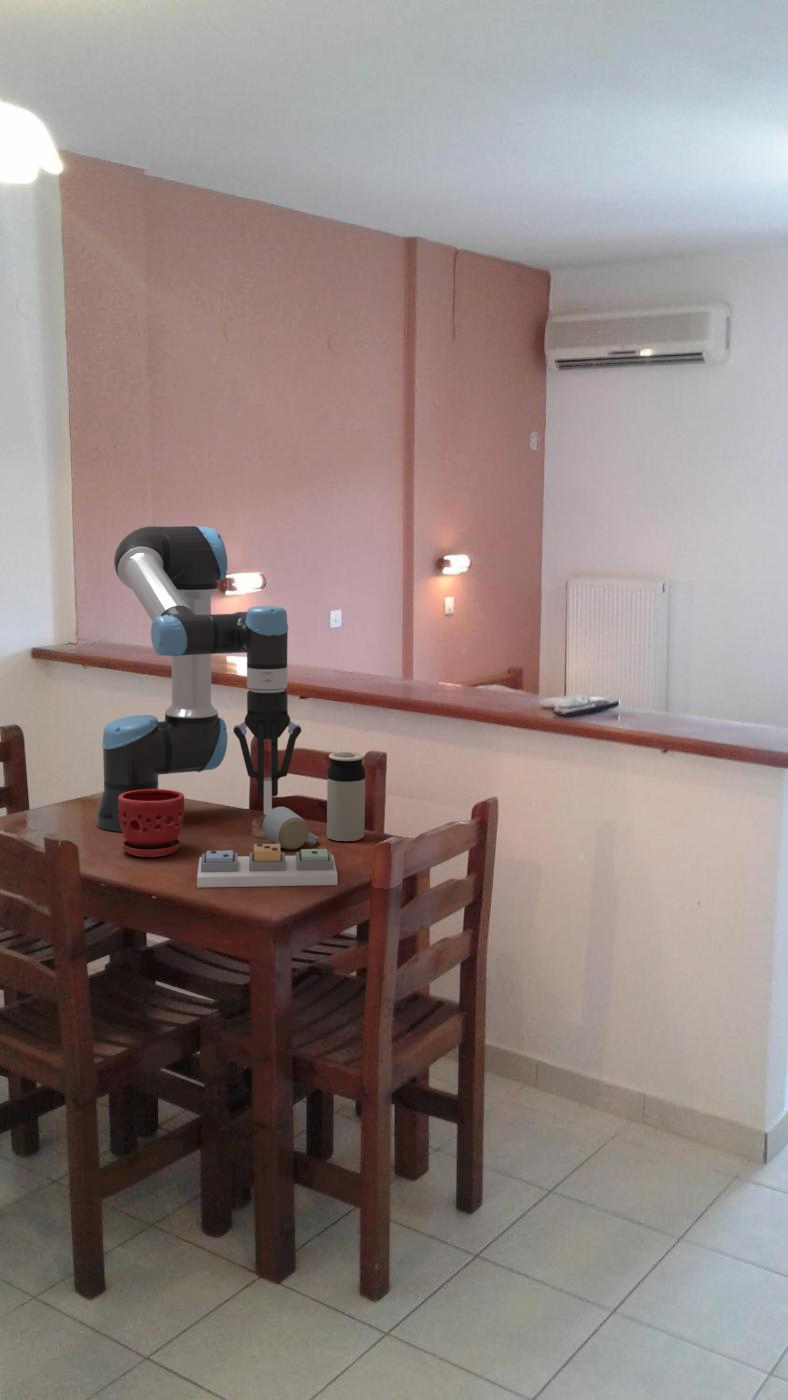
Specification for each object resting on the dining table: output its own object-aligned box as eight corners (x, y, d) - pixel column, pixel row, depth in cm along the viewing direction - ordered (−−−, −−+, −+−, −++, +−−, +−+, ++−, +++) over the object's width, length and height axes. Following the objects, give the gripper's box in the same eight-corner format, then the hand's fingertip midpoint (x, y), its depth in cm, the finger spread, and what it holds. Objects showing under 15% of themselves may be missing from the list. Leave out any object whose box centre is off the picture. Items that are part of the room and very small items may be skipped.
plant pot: (193, 856, 254) (192, 798, 252) (128, 863, 248) (127, 804, 246) (174, 839, 266) (173, 784, 264) (112, 846, 260) (110, 789, 258)
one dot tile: (300, 859, 245) (300, 848, 244) (326, 858, 245) (326, 847, 245) (301, 866, 240) (301, 855, 240) (328, 866, 240) (328, 855, 240)
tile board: (199, 866, 247) (199, 849, 246) (332, 864, 250) (333, 847, 249) (197, 887, 234) (196, 868, 234) (337, 884, 237) (337, 866, 237)
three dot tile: (253, 854, 244) (253, 843, 243) (280, 853, 244) (280, 842, 244) (254, 861, 239) (254, 850, 238) (280, 861, 239) (280, 849, 239)
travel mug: (329, 843, 265) (329, 759, 262) (324, 833, 273) (325, 751, 270) (366, 842, 266) (368, 758, 263) (361, 832, 274) (362, 750, 271)
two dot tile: (206, 860, 243) (206, 849, 242) (233, 860, 243) (232, 849, 243) (205, 868, 238) (205, 857, 237) (232, 868, 238) (232, 856, 238)
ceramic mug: (279, 853, 257) (279, 816, 256) (261, 843, 264) (262, 807, 263) (325, 847, 262) (326, 811, 261) (306, 838, 269) (307, 803, 268)
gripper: (231, 692, 232) (232, 818, 235) (303, 692, 233) (303, 817, 237) (232, 686, 239) (233, 808, 243) (301, 686, 241) (301, 807, 244)
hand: (267, 812), depth 240 cm, fingers closed
